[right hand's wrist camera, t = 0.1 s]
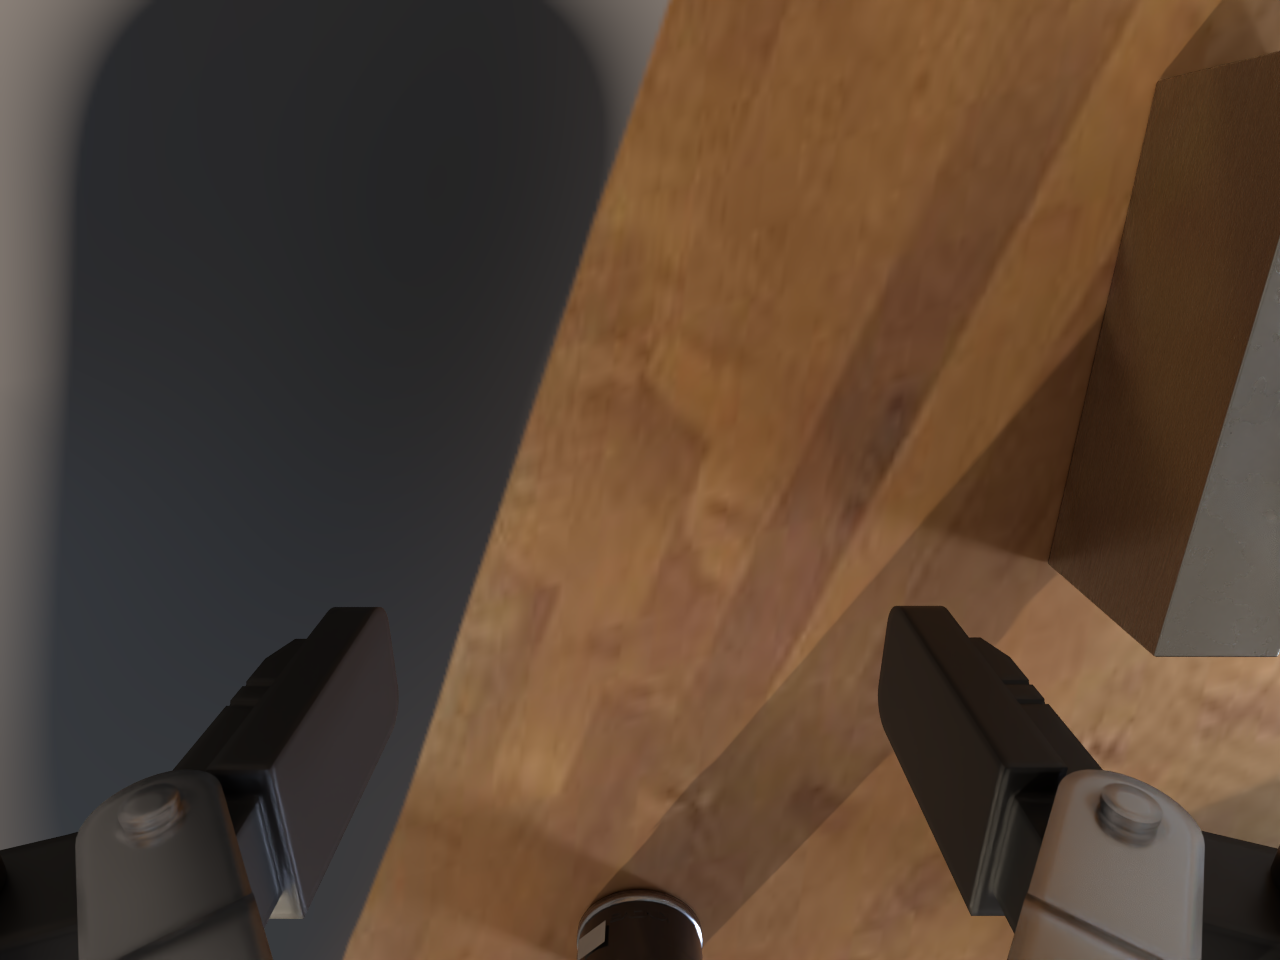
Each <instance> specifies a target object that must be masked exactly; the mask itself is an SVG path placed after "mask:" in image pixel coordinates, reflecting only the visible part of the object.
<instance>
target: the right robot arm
mask: <svg viewBox="0 0 1280 960" xmlns="http://www.w3.org/2000/svg"><path fill="white" fill-rule="evenodd" d="M878 706H879V713H880V718H881V722H882V725H883V728H884V731H885V733H886V735H887V737H888V739H889V741H890V743H891V746H892V748H893V750H894V752H895V754H896V756H897V758H898V760H899V763H900V765H901V767H902V769H903V771H904V773H905V775H906V778H907V780H908V782H909V784H910V786H911V788H912V790H913V793H914V795H915V797H916V799H917V801H918V803H919V805H920V808H921V810H922V812H923V814H924V816H925V818H926V820H927V822H928V825H929V827H930V829H931V831H932V833H933V835H934V837H935V840H936V842H937V844H938V846H939V848H940V850H941V852H942V855H943V857H944V859H945V861H946V863H947V865H948V867H949V870H950V872H951V874H952V876H953V878H954V880H955V882H956V884H957V887H958V889H959V891H960V893H961V895H962V897H963V899H964V902H965V904H966V906H967V908H968V910H969V912H970V914H971V916H1006V918H1007V920H1008V922H1009V924H1010V926H1011V928H1012V930H1013V932H1014V938H1013V941H1012V944H1011V948H1010V951H1009V955H1008V958H1007V960H1280V846H1279V848H1278V849H1277V848H1272V847H1268V846H1264V845H1259V844H1255V843H1251V842H1247V841H1242V840H1238V839H1234V838H1229V837H1225V836H1221V835H1217V834H1212V833H1208V832H1204V831H1201V830H1200V828H1199V826H1198V825H1197V823H1196V822H1195V820H1194V819H1193V818H1192V817H1191V816H1190V814H1189V813H1188V812H1187V811H1186V810H1185V809H1184V808H1183V807H1181V806H1180V805H1179V804H1178V803H1177V802H1175V801H1174V800H1173V799H1171V798H1170V797H1169V796H1167V795H1166V794H1164V793H1163V792H1161V791H1159V790H1158V789H1156V788H1154V787H1152V786H1150V785H1148V784H1146V783H1144V782H1142V781H1140V780H1137V779H1135V778H1132V777H1129V776H1126V775H1123V774H1119V773H1115V772H1111V771H1105V770H1102V768H1101V767H1100V766H1099V765H1098V764H1097V762H1096V761H1095V760H1094V759H1093V758H1092V756H1091V755H1090V754H1089V753H1088V751H1087V750H1086V749H1085V748H1084V747H1083V745H1082V744H1081V743H1080V742H1079V741H1078V739H1077V738H1076V737H1075V736H1074V734H1073V733H1072V732H1071V731H1070V730H1069V728H1068V727H1067V726H1066V725H1065V723H1064V722H1063V721H1062V720H1061V719H1060V717H1059V716H1058V715H1057V714H1056V713H1055V711H1054V710H1053V709H1052V708H1051V706H1050V705H1049V704H1045V702H1044V698H1043V697H1042V696H1041V694H1040V693H1039V692H1038V691H1037V689H1036V688H1035V687H1034V686H1033V685H1029V680H1028V679H1027V677H1026V676H1025V675H1024V674H1023V672H1022V671H1021V670H1020V669H1019V668H1018V666H1017V665H1016V664H1015V663H1014V662H1013V660H1012V659H1011V658H1010V657H1009V656H1007V655H1006V654H1004V653H1003V652H1001V651H1000V650H998V649H997V648H995V647H994V646H992V645H991V644H989V643H988V642H986V641H985V640H983V639H982V638H969V637H968V636H967V635H966V633H965V632H964V631H963V629H962V628H961V627H960V625H959V624H958V623H957V622H956V620H955V619H954V618H953V616H952V615H951V614H950V612H949V611H948V610H947V609H946V608H945V607H943V606H894V607H893V608H892V609H891V611H890V613H889V617H888V622H887V629H886V636H885V644H884V651H883V658H882V665H881V672H880V679H879V687H878ZM397 710H398V685H397V678H396V671H395V664H394V657H393V650H392V643H391V636H390V629H389V622H388V617H387V614H386V612H385V610H384V609H383V608H381V607H334V608H331V609H330V610H329V611H328V612H327V613H326V615H325V616H324V617H323V619H322V620H321V621H320V623H319V624H318V625H317V626H316V628H315V629H314V630H313V631H312V633H311V634H310V635H309V637H308V638H307V639H294V640H293V641H292V642H290V643H289V644H287V645H285V646H284V647H282V648H281V649H279V650H278V651H276V652H275V653H273V654H272V655H270V656H269V657H267V658H266V659H265V660H264V661H263V662H262V663H261V665H260V666H259V667H258V668H257V670H256V671H255V672H254V673H253V674H252V676H251V677H250V678H249V679H248V680H247V682H246V686H242V688H241V689H240V690H239V691H238V692H237V694H236V695H235V696H234V697H233V698H232V700H231V702H230V706H226V707H225V708H224V709H223V710H222V712H221V713H220V714H219V715H218V716H217V718H216V719H215V720H214V721H213V722H212V724H211V725H210V726H209V727H208V728H207V730H206V731H205V732H204V733H203V735H202V736H201V737H200V738H199V739H198V741H197V742H196V743H195V744H194V745H193V747H192V748H191V749H190V750H189V751H188V753H187V754H186V755H185V756H184V757H183V759H182V760H181V761H180V762H179V763H178V765H177V766H176V767H175V768H174V769H173V771H169V772H165V773H161V774H157V775H154V776H151V777H148V778H145V779H143V780H140V781H138V782H136V783H134V784H132V785H130V786H128V787H126V788H124V789H122V790H121V791H119V792H117V793H116V794H114V795H113V796H111V797H110V798H108V799H107V800H106V801H105V802H103V803H102V804H101V805H100V806H99V807H97V808H96V809H95V810H94V811H93V812H92V813H91V815H90V816H89V817H88V818H87V819H86V820H85V822H84V823H83V825H82V826H81V828H80V830H79V832H76V833H72V834H68V835H64V836H60V837H56V838H51V839H47V840H43V841H38V842H34V843H30V844H26V845H21V846H17V847H13V848H9V849H4V850H0V960H273V958H272V955H271V951H270V948H269V945H268V941H267V938H266V934H265V931H264V927H265V925H266V924H267V922H268V920H269V919H303V918H304V916H305V914H306V912H307V910H308V908H309V906H310V904H311V902H312V900H313V897H314V895H315V893H316V891H317V889H318V887H319V885H320V883H321V881H322V878H323V876H324V874H325V872H326V870H327V868H328V866H329V863H330V861H331V859H332V857H333V855H334V853H335V851H336V849H337V847H338V845H339V842H340V840H341V838H342V836H343V834H344V832H345V830H346V828H347V825H348V823H349V821H350V819H351V817H352V815H353V813H354V811H355V809H356V806H357V804H358V802H359V800H360V798H361V796H362V794H363V792H364V790H365V787H366V785H367V783H368V781H369V779H370V777H371V775H372V773H373V771H374V769H375V766H376V764H377V762H378V760H379V758H380V756H381V754H382V752H383V750H384V747H385V745H386V743H387V741H388V739H389V737H390V735H391V733H392V730H393V728H394V725H395V721H396V716H397ZM577 950H578V951H577V960H703V959H702V931H701V925H700V922H699V920H698V918H697V916H696V915H695V913H694V912H693V911H692V910H691V909H690V908H689V907H688V906H687V905H686V904H685V903H683V902H682V901H680V900H679V899H677V898H675V897H673V896H670V895H668V894H665V893H661V892H657V891H652V890H628V891H622V892H618V893H614V894H612V895H609V896H607V897H604V898H603V899H601V900H599V901H598V902H596V903H595V904H593V905H592V906H591V907H590V908H589V909H588V910H587V911H586V912H585V914H584V915H583V917H582V919H581V921H580V923H579V927H578V935H577Z"/></svg>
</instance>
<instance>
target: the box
mask: <svg viewBox="0 0 1280 960" xmlns="http://www.w3.org/2000/svg"><path fill="white" fill-rule="evenodd" d="M1048 563H1049V565H1050V566H1051V567H1053V568H1054V569H1055V570H1056V571H1057V572H1058V573H1060V574H1061V575H1062V576H1063V577H1064V578H1065V579H1066V580H1068V581H1069V582H1070V583H1071V584H1072V585H1073V586H1074V587H1076V588H1077V589H1078V590H1079V591H1080V592H1081V593H1082V594H1084V595H1085V596H1086V597H1087V598H1088V599H1089V600H1090V601H1092V602H1093V603H1094V604H1095V605H1096V606H1097V607H1098V608H1100V609H1101V610H1102V611H1103V612H1104V613H1105V614H1106V615H1108V616H1109V617H1110V618H1111V619H1112V620H1113V621H1114V622H1116V623H1117V624H1118V625H1119V626H1120V627H1121V628H1122V629H1124V630H1125V631H1126V632H1127V633H1128V634H1129V635H1130V636H1132V637H1133V638H1134V639H1135V640H1136V641H1137V642H1138V643H1140V644H1141V645H1142V646H1143V647H1144V648H1145V649H1146V650H1148V651H1149V652H1150V653H1151V654H1152V655H1153V656H1156V657H1277V656H1278V655H1279V652H1280V51H1278V52H1274V53H1270V54H1266V55H1261V56H1257V57H1253V58H1249V59H1245V60H1241V61H1237V62H1233V63H1229V64H1225V65H1221V66H1216V67H1212V68H1208V69H1204V70H1200V71H1196V72H1192V73H1188V74H1184V75H1180V76H1175V77H1171V78H1167V79H1163V80H1160V81H1158V82H1157V86H1156V90H1155V95H1154V99H1153V103H1152V108H1151V112H1150V117H1149V121H1148V125H1147V130H1146V134H1145V139H1144V143H1143V147H1142V152H1141V156H1140V161H1139V165H1138V170H1137V174H1136V178H1135V183H1134V187H1133V192H1132V196H1131V200H1130V205H1129V209H1128V214H1127V218H1126V222H1125V227H1124V231H1123V236H1122V240H1121V244H1120V249H1119V253H1118V258H1117V262H1116V267H1115V271H1114V275H1113V280H1112V284H1111V289H1110V293H1109V297H1108V302H1107V306H1106V311H1105V315H1104V319H1103V324H1102V328H1101V333H1100V337H1099V341H1098V346H1097V350H1096V355H1095V359H1094V364H1093V368H1092V372H1091V377H1090V381H1089V386H1088V390H1087V394H1086V399H1085V403H1084V408H1083V412H1082V416H1081V421H1080V425H1079V430H1078V434H1077V438H1076V443H1075V447H1074V452H1073V456H1072V461H1071V465H1070V469H1069V474H1068V478H1067V483H1066V487H1065V491H1064V496H1063V500H1062V505H1061V509H1060V513H1059V518H1058V522H1057V527H1056V531H1055V535H1054V540H1053V544H1052V549H1051V553H1050V558H1049V562H1048Z"/></svg>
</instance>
